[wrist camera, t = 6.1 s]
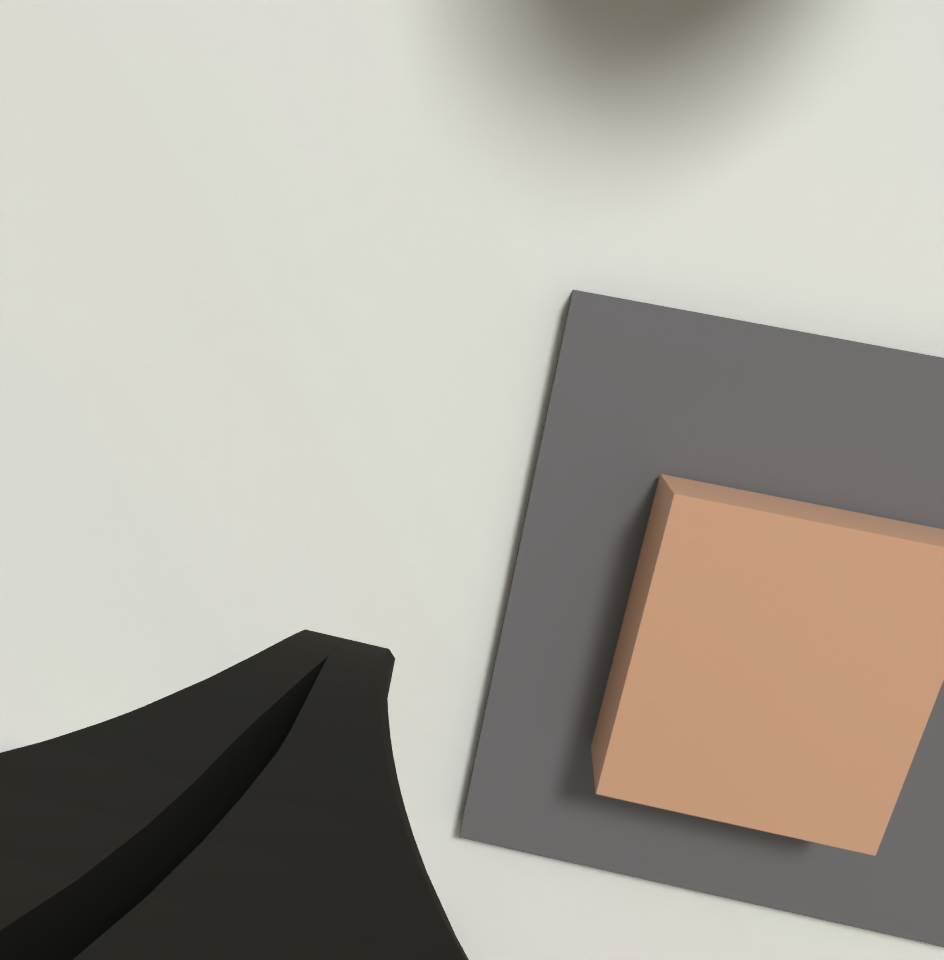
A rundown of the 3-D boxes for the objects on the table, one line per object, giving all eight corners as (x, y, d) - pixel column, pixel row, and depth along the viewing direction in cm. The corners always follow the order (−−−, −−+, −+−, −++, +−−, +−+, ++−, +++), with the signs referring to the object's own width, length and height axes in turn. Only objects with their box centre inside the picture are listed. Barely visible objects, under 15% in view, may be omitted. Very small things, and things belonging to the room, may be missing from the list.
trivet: (959, 935, 21) (970, 953, 20) (461, 822, 22) (459, 837, 21) (1190, 404, 17) (1213, 407, 16) (572, 290, 18) (573, 289, 17)
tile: (590, 743, 20) (840, 798, 20) (595, 794, 18) (875, 855, 18) (659, 472, 18) (938, 527, 18) (674, 493, 16) (991, 556, 16)
